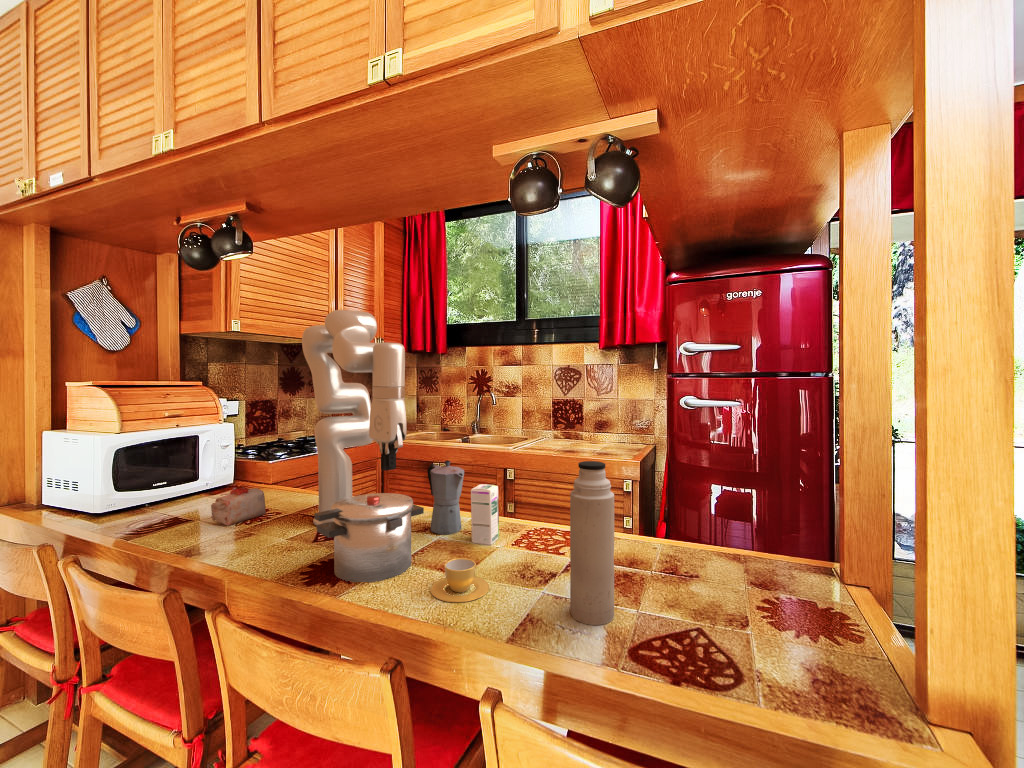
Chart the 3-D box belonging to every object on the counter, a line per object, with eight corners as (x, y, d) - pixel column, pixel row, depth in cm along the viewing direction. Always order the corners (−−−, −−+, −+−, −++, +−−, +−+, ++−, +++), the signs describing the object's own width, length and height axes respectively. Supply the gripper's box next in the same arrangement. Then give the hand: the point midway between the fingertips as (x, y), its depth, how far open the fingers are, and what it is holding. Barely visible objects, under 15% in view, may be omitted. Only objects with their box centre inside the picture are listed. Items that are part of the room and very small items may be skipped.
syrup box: (491, 545, 119) (491, 489, 119) (470, 543, 121) (470, 488, 121) (499, 538, 124) (499, 484, 124) (479, 535, 126) (479, 483, 126)
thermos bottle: (601, 600, 90) (601, 457, 89) (622, 621, 82) (622, 465, 82) (563, 606, 88) (563, 459, 87) (581, 628, 80) (581, 467, 79)
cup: (492, 601, 90) (492, 574, 90) (430, 606, 88) (430, 578, 88) (485, 575, 102) (485, 551, 102) (430, 579, 100) (430, 554, 100)
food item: (226, 528, 133) (226, 494, 133) (208, 525, 137) (208, 491, 136) (268, 515, 146) (267, 484, 146) (250, 512, 149) (250, 482, 149)
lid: (428, 509, 106) (428, 496, 106) (336, 532, 90) (336, 517, 90) (387, 495, 119) (387, 484, 119) (299, 514, 103) (299, 501, 103)
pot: (306, 571, 104) (306, 513, 103) (398, 543, 121) (397, 494, 120) (344, 598, 91) (344, 532, 91) (440, 563, 108) (440, 507, 108)
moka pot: (451, 540, 123) (451, 465, 123) (413, 528, 132) (413, 459, 132) (475, 530, 131) (475, 460, 130) (437, 520, 140) (437, 454, 140)
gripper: (359, 393, 114) (359, 466, 114) (391, 396, 103) (391, 477, 104) (386, 392, 119) (386, 462, 120) (419, 395, 109) (419, 472, 109)
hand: (388, 469), depth 112 cm, fingers closed
